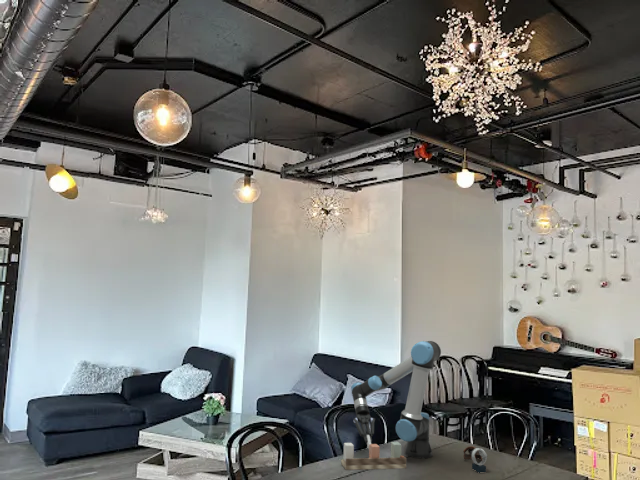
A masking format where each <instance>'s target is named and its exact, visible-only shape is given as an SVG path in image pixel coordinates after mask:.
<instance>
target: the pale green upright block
mask: <svg viewBox="0 0 640 480" xmlns="http://www.w3.org/2000/svg"><path fill="white" fill-rule="evenodd" d="M401 455H402V444H401V443H400V442H399V441H391V442H390V458H400V456H401Z"/></svg>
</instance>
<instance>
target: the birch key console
mask: <svg viewBox="0 0 640 480" xmlns="http://www.w3.org/2000/svg"><path fill="white" fill-rule="evenodd" d="M340 461H341V462H340V463H341V464H340V465H342V466H343V468H344V469H345V471H348V470H349V471H351V470H352V471H354V470H359V471H360V470H391V469H407V457H406V456H404V455H402V454H401V456H400V458H391V457H379V458H369V457H367V458H366V457H365V458H363V457H362V458H361V457H359V458H353V459H346V462H345V460H344V459H341V460H340Z"/></svg>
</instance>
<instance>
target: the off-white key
mask: <svg viewBox="0 0 640 480" xmlns="http://www.w3.org/2000/svg"><path fill="white" fill-rule="evenodd" d="M354 447H355V445H354V444H353V443H352V442H344V443H343V459H344V460H345V462H346V459H354V455H355V454H354V453H355V451H354V450H355V448H354Z"/></svg>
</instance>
